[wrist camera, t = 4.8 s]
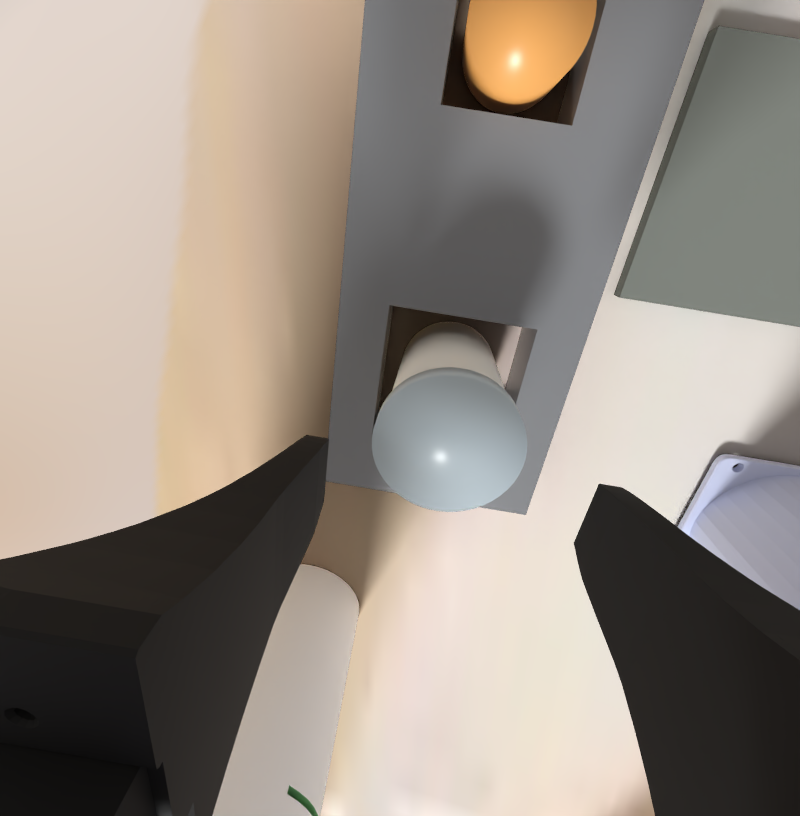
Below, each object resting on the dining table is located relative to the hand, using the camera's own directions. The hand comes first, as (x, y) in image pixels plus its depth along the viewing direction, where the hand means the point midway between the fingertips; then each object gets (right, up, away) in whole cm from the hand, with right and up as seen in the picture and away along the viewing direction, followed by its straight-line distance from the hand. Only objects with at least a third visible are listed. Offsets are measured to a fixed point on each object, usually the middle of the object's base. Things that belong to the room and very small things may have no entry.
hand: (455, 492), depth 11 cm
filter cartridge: (+1, +4, +9) cm, 10 cm away
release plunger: (+2, +15, +4) cm, 15 cm away
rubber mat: (+13, +10, +5) cm, 17 cm away
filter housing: (+2, +9, +7) cm, 11 cm away
